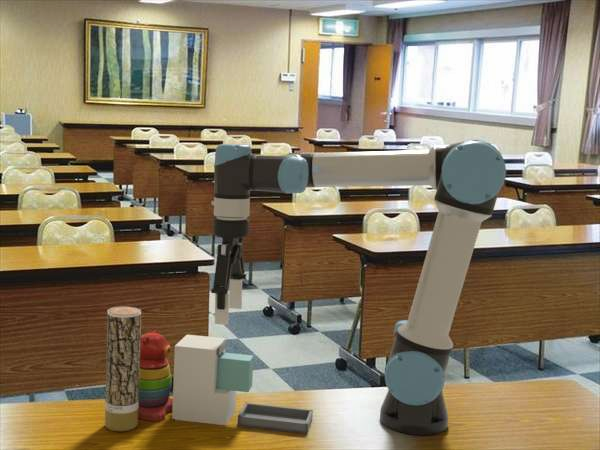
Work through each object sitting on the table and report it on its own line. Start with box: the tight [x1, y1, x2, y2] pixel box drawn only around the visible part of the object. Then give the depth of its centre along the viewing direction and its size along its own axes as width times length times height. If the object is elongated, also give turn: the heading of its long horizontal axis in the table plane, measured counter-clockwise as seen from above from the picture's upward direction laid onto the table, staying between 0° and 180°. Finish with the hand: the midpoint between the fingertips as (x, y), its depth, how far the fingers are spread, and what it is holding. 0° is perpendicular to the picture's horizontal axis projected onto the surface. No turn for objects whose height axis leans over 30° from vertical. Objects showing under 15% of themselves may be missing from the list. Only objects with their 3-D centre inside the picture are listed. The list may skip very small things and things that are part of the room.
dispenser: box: [171, 334, 237, 426], centre depth 170 cm, size 12×9×16 cm
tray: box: [237, 402, 314, 435], centre depth 169 cm, size 15×8×2 cm, turn 82°
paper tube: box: [104, 306, 142, 432], centre depth 161 cm, size 7×7×25 cm
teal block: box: [216, 352, 254, 393], centre depth 169 cm, size 10×4×7 cm, turn 82°
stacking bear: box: [138, 329, 173, 422], centre depth 171 cm, size 11×10×18 cm
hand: (228, 315), depth 166 cm, fingers open, 13 cm apart
